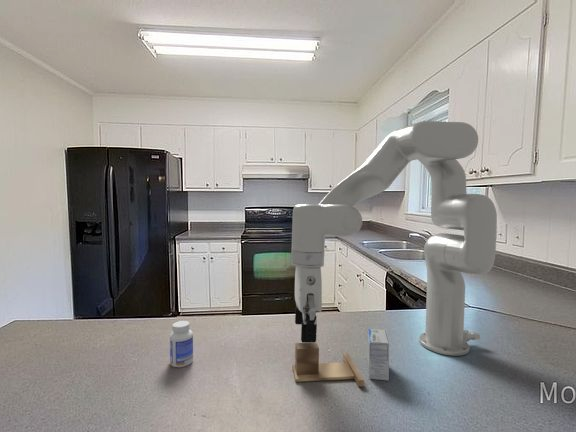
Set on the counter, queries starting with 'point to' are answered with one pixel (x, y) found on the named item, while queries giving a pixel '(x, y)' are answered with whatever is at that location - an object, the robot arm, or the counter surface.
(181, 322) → the pill bottle
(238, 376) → the counter surface
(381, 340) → the medicine box
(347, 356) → the wooden t-shaped piece
